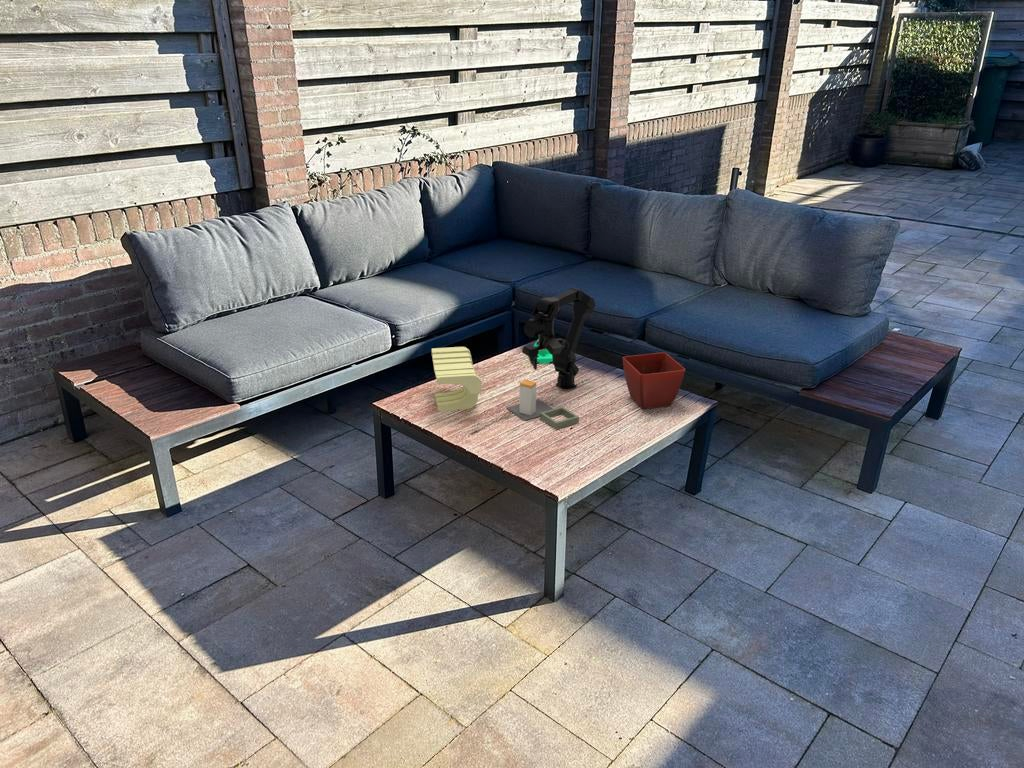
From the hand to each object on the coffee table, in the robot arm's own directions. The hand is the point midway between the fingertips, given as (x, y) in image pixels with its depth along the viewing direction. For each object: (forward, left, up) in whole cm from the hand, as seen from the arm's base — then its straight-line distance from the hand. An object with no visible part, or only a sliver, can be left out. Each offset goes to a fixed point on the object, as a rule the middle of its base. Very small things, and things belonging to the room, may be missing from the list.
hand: (544, 367), depth 323 cm
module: (+14, +9, -12) cm, 21 cm away
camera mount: (-22, -32, -13) cm, 41 cm away
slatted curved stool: (+33, -14, -13) cm, 38 cm away
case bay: (+7, +21, -13) cm, 26 cm away
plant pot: (-34, +26, -13) cm, 45 cm away
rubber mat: (+11, +8, -13) cm, 19 cm away
